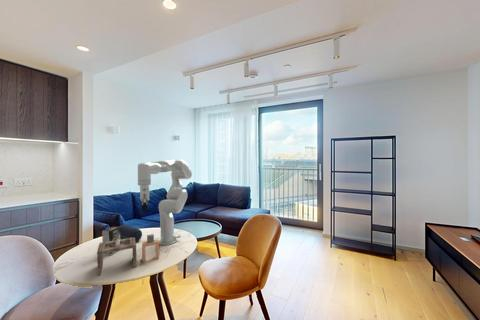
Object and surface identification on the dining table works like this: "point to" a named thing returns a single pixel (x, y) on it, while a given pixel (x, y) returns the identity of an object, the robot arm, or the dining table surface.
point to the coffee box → (110, 237)
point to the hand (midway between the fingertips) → (144, 209)
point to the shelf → (117, 247)
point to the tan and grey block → (150, 242)
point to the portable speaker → (130, 232)
